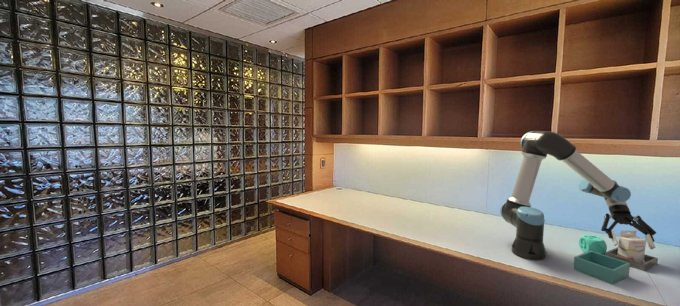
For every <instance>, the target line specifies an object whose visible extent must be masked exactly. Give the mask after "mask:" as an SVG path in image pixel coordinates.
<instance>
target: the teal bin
mask: <svg viewBox="0 0 680 306" xmlns="http://www.w3.org/2000/svg"><path fill="white" fill-rule="evenodd" d="M573 270H575V271H577V272H579V273H583V274H586V275H587V276H589V277H593V278H595V279H598V280H601V281H603V282H606V283H608V284H610V285H615V284H617V283H619V282H621V281H623V280H625V279H626V278H629V277H630V275H629V274H630V270H631V269H630V263H627V262H624V261H621V260H618V259H615V258H612V257H608V256H605V254H603V255H602V254H599V253H596V252H593V251H588V252H586V253H585V252H583V253H580V254H579V255H575V256H574V258H573Z"/></svg>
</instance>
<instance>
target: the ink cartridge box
mask: <svg viewBox="0 0 680 306" xmlns="http://www.w3.org/2000/svg"><path fill="white" fill-rule="evenodd" d="M637 231H638V230H637V229H635V230H631V229H630V230H620V233H619V237H618V246H617V247H618V254H617V256H620V257H624V258H627V259H630V260H633V261H636V262H640V263H645V261H644V254H646V244H647V241H646V239H645V238H642V237H639V236H636V235H637Z"/></svg>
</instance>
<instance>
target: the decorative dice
mask: <svg viewBox="0 0 680 306" xmlns="http://www.w3.org/2000/svg"><path fill="white" fill-rule="evenodd" d="M578 246H579V248H580V250H581V251H582V252H583V253H586V252H588V251H593V252H596V253H599V254H602V255H605V252H607V250H608V246H607V242H606V241H605V240H604V239H603V238H602V237H600V236H597V235H592V234H584V235H581V237H580V238H579V239H578Z"/></svg>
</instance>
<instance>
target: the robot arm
mask: <svg viewBox="0 0 680 306" xmlns="http://www.w3.org/2000/svg"><path fill="white" fill-rule="evenodd" d="M520 146H521V149H522V150H521V154H522V160H521V164H520V167H519V170H518V173H517V178H516V180H515V184H514V186H513V190H512V193H511V196H510V197H507V199H506V201H505V202H504V203H503V204H501V206H500V208H499V214H500V215H501V217H502V219H503V220H504V221H505V222H506V223H508V224H510V225H512V226H513V227H515V228H516V229H515V238H514V241H513V243H512V245H511V252H512V253H513V254H515V255H516V256H518V257H521V258H523V259H527V260H535V261H541V260H545V259H546V258H547V256H548V255H547V250H546V246H545V244H544V233H545V232H544V231H545V222H546V221H545V215H544V212H542V211H541V210H540V209H538V208H536V207H535V208H534V207H532V205H531V203H530V200H531V196H532V193H533V190H534V187H535V184H536V179H537V177H538V173H539V171H540V167H541V164H542V161H543V160H545V159H546V158H547V157H548V156H552V157H553V158H555V159H556V160H558V161H562V162H563V163H564V164H566V165H567V166H568V167H569V168H571V169H572V170H573V171H574V172H575V173H577V174H578V175H579V176H580V177H581V178H582V179H581V180H579V183H578V188H579V190H580V191H581V192H584V193H587V194H590V195H591V194H592V195H594V196H598V197H601V198H604V200H605V204H606V205H607V208H608V210H609V212H610V213H605V214H604V215H603V217H604V219H603V220H604V221H603V223H602V226H601V229H600V231H602V232H605V233H606V234H607V236H608V238H609V239H611V242H612V244H613V246H615V247H616V246H617V245H619V240H618V239H617V236H616V234H615V231H614V230H613V229H614V228H615V227H616V225H618V224H620V225H628V226H630V227H633V228H634V229H635V230H636V231H638V232H640V233H642V234H643V235H644V239H645V240H646V244H648V247H649V249H650V250H654V249H655V248H656V245H655V238H654V236H655V235H656V234H657V231H656V230H655V229H653V228H652V227H651V226H650V225H649V224H648V223H646V221H644V220H643V218H642V217H641V216H640V215H636V216H633V215H632V214H631V210H630V208H629V206H628V203H627V202H628V200H630V198H631V196H632V192H631V190H630V189H629V188H627V187H625V186H622V185H619V183H618V182H617V181H616V180H613V179H611V177H609V176H608V175H606V174H605V173H604V172H603V171H602V170H600V169H599V168H598V167H597V166H596V165H595V164H593V163H592V162H591V161H590V160H588V159H587V158H586V157H585V156H584V155H583V154H582V153H580V151H578V150H577V146H575V144H573V143H572V142H570V140H568V139H566V138H565V137H564V136H562V135H560V134H559V133H557V132H555V131H544V130H532V131H528V132H526V133H525V134H523V136H522V137H521V139H520ZM610 219H612V220H613V222H612V224H610V226H609V227H608V224H609V221H610Z"/></svg>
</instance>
